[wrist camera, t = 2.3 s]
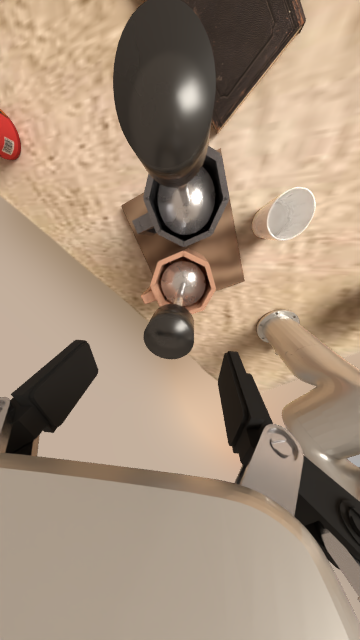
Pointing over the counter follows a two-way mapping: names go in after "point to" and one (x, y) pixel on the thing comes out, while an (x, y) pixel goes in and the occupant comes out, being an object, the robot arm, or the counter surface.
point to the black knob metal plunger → (175, 312)
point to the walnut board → (194, 245)
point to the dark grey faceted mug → (153, 220)
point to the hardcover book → (245, 44)
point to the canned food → (8, 138)
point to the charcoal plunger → (169, 106)
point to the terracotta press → (184, 255)
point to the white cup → (285, 215)
